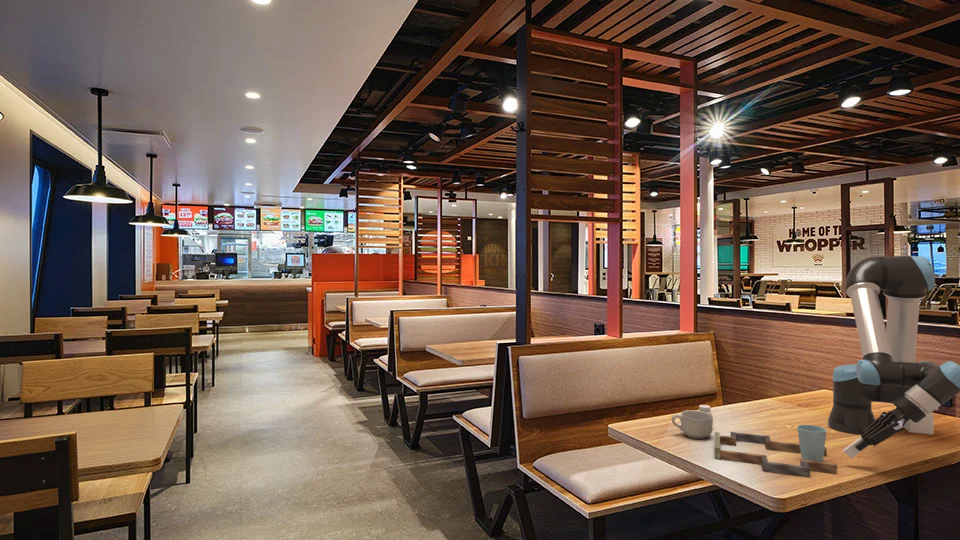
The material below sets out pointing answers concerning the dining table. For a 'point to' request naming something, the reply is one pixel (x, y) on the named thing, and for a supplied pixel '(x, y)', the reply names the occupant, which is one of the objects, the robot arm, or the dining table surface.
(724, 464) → the dining table surface
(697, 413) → the teacup
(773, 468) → the wooden zigzag frame
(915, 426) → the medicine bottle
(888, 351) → the robot arm
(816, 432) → the cup
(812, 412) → the dining table surface
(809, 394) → the dining table surface
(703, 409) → the supplement bottle
